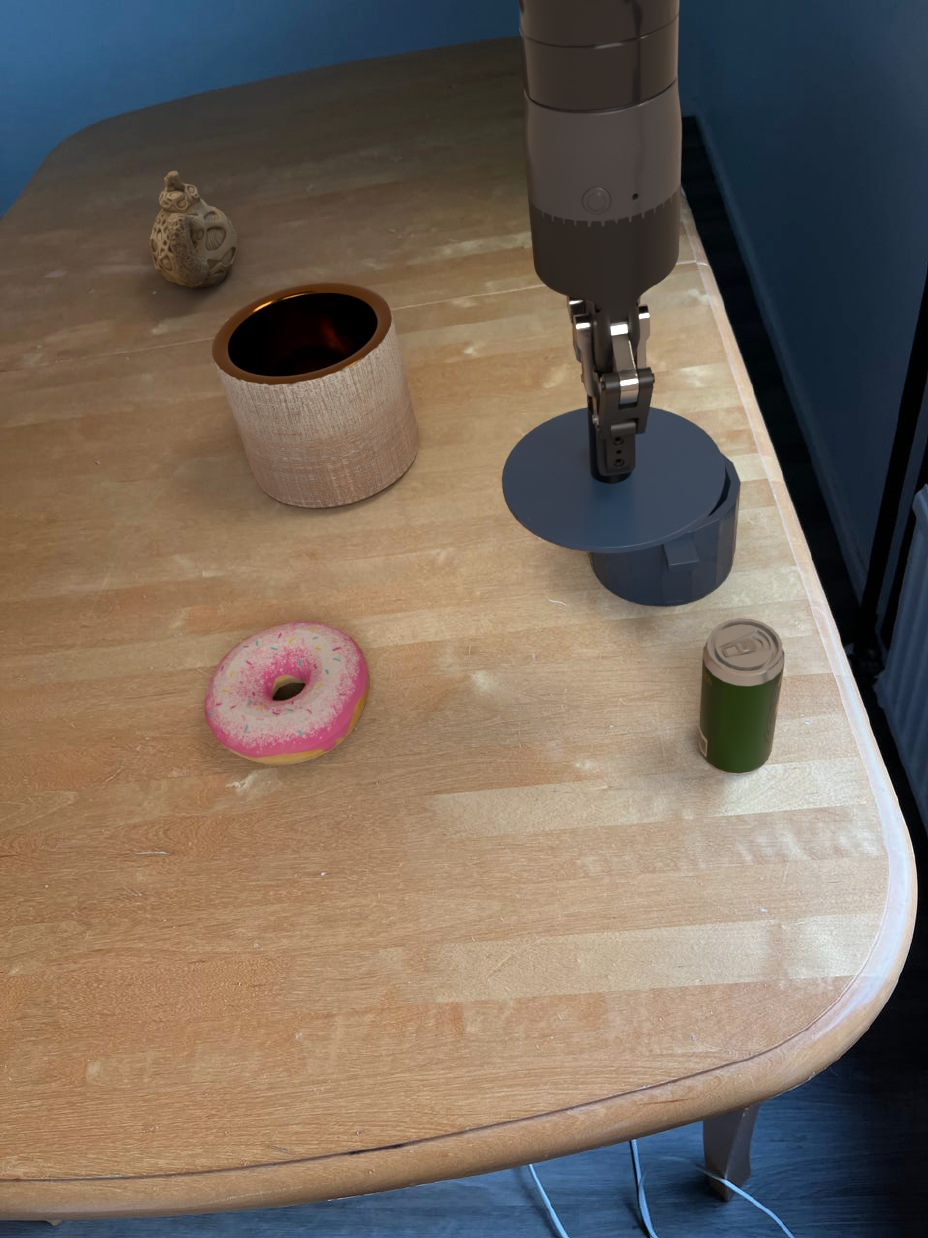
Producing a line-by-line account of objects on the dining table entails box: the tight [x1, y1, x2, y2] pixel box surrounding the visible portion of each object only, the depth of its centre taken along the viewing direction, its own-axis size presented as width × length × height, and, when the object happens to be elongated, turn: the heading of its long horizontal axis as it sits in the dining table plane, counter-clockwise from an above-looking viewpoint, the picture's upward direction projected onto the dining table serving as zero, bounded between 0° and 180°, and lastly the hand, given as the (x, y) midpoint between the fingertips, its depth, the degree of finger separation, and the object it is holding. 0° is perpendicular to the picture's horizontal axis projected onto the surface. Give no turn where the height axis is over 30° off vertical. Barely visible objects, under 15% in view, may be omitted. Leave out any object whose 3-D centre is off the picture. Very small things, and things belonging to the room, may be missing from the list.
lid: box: [501, 398, 725, 553], centre depth 62 cm, size 14×14×6 cm
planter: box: [211, 281, 420, 510], centre depth 102 cm, size 18×18×16 cm
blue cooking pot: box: [588, 452, 742, 608], centre depth 89 cm, size 13×18×8 cm
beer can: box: [697, 617, 785, 777], centre depth 73 cm, size 5×5×12 cm
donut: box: [204, 621, 371, 766], centre depth 84 cm, size 14×13×5 cm
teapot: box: [148, 170, 239, 290], centre depth 133 cm, size 21×12×15 cm, turn 13°
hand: (611, 453), depth 63 cm, fingers closed on lid, 2 cm apart
